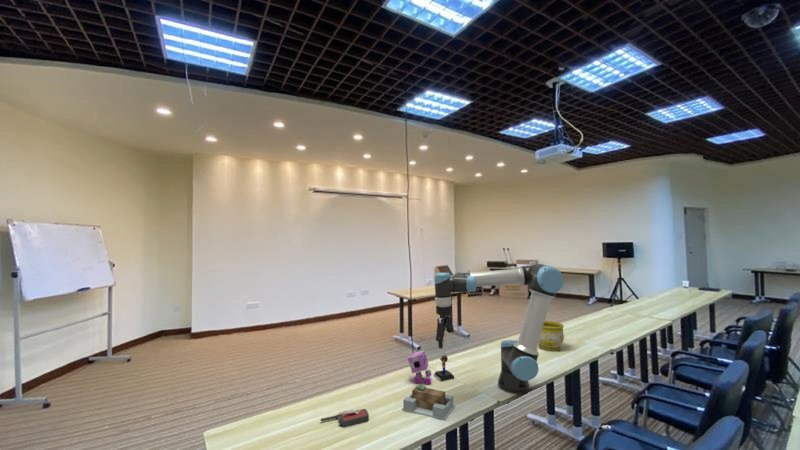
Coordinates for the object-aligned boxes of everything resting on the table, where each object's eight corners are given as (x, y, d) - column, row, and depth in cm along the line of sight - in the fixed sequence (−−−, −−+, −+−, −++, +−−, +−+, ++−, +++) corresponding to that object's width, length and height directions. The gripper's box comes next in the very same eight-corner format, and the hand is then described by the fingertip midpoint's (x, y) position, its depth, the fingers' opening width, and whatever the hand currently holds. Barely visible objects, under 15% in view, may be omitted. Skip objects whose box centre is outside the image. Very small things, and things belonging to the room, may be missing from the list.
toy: (430, 384, 177) (421, 355, 179) (416, 387, 179) (407, 359, 181) (433, 376, 188) (424, 349, 190) (419, 380, 189) (410, 353, 191)
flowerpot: (569, 352, 225) (568, 327, 226) (541, 352, 226) (541, 327, 226) (557, 343, 243) (556, 320, 244) (531, 344, 244) (531, 320, 244)
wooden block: (445, 407, 154) (445, 388, 154) (441, 412, 149) (441, 393, 149) (416, 401, 160) (416, 383, 160) (412, 405, 155) (412, 387, 156)
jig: (454, 406, 156) (454, 396, 156) (445, 420, 144) (444, 409, 144) (414, 397, 165) (414, 387, 165) (402, 409, 153) (402, 399, 153)
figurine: (433, 376, 189) (433, 354, 190) (446, 373, 193) (446, 352, 193) (440, 381, 182) (440, 358, 183) (454, 378, 186) (453, 356, 186)
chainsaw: (365, 411, 152) (320, 422, 144) (365, 401, 152) (320, 411, 144) (372, 421, 144) (324, 433, 136) (371, 411, 144) (324, 421, 136)
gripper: (444, 300, 177) (446, 341, 176) (427, 310, 154) (429, 358, 154) (458, 300, 174) (460, 342, 173) (443, 311, 151) (445, 360, 151)
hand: (446, 350), depth 163 cm, fingers open, 13 cm apart
